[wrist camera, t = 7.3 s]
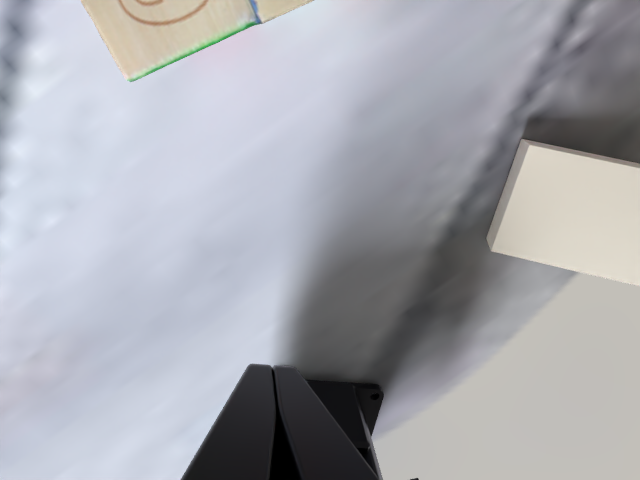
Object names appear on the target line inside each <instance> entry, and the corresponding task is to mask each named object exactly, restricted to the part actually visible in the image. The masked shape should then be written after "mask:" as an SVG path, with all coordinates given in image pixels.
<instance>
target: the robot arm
mask: <svg viewBox="0 0 640 480" xmlns="http://www.w3.org/2000/svg"><path fill="white" fill-rule="evenodd" d="M373 393H376V394H375V395H371V394H373ZM383 397H384V394H383V391H382V388H381V387H380V386H379V385H376V384H362V383H346V382H330V381H314V380H305V379H304V378H303V377H302V375H301V374H300V373H299V371H298V370H297V369H296V368H295V367H292V366H278V365H276V366H274V367H273V368H272V367H271V366H270V365H263V364H250V365H249V366H248V367H247V368H246V370H245V372H244V373H243V375H242V377H241V379H240V380H239V382H238V384H237V385H236V387H235V389H234V390H233V392H232V394H231V395H230V397H229V399H228V401H227V402H226V404H225V406H224V407H223V409H222V411H221V412H220V414H219V416H218V417H217V419H216V421H215V423H214V424H213V426H212V428H211V429H210V431H209V433H208V434H207V436H206V438H205V439H204V441H203V443H202V445H201V446H200V448H199V450H198V451H197V453H196V455H195V456H194V458H193V460H192V461H191V463H190V465H189V466H188V468H187V470H186V472H185V473H184V475H183V477H182V478H181V480H383V478H382V475H381V471H380V468H379V464H378V461H377V457H376V453H375V450H374V446H373V443H372V439H371V436H372V433H373V430H374V426H375V423H376V420H377V417H378V413H379V410H380V407H381V403H382V400H383ZM411 480H419V479H418V478H415V479H411Z"/></svg>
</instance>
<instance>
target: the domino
mask: <svg viewBox="0 0 640 480" xmlns="http://www.w3.org/2000/svg"><path fill="white" fill-rule="evenodd" d="M486 240H487V242H488V245H489V247H490V250H491V251H492V252H497V253H501V254H505V255H509V256H514V257H518V258H522V259H526V260H530V261H535V262H539V263H543V264H547V265H552V266H556V267H560V268H564V269H568V270H573V271H577V272H581V273H585V274H590V275H594V276H598V277H602V278H606V279H611V280H615V281H620V282H624V283H628V284H632V285H636V286H640V164H639V163H634V162H630V161H625V160H620V159H615V158H611V157H606V156H601V155H597V154H592V153H587V152H582V151H578V150H573V149H568V148H563V147H559V146H554V145H549V144H544V143H540V142H535V141H530V140H526V139H521V141H520V144H519V147H518V150H517V153H516V155H515V158H514V161H513V164H512V167H511V170H510V172H509V175H508V178H507V181H506V184H505V186H504V189H503V192H502V195H501V198H500V201H499V203H498V206H497V209H496V212H495V215H494V217H493V220H492V223H491V226H490V229H489V232H488V234H487V237H486Z"/></svg>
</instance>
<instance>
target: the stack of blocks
mask: <svg viewBox="0 0 640 480" xmlns="http://www.w3.org/2000/svg"><path fill="white" fill-rule="evenodd" d="M312 1H314V0H81V2H82V4H83V6H84V7H85V9H86V11H87V12H88V14H89V15H90V17H91V19H92V20H93V22H94V24H95V26H96V28H97V30H98V32H99V34H100V36H101V38H102V39H103V41H104V42H105V44H106V46H107V47H108V49H109V51H110V53H111V55H112V57H113V59H114V61H115V62H116V64H117V66H118V67H119V69H120V71H121V72H122V74H123V76H124V77H125V79H126V80H127V81H130V82H132V81H135V80H138V79H140V78H142V77H144V76H146V75H148V74H150V73H153V72H155V71H157V70H159V69H161V68H163V67H165V66H167V65H169V64H171V63H174V62H176V61H178V60H180V59H182V58H185V57H187V56H189V55H191V54H193V53H195V52H198V51H200V50H202V49H204V48H206V47H208V46H211V45H213V44H215V43H218V42H220V41H222V40H224V39H226V38H228V37H230V36H232V35H234V34H236V33H238V32H241V31H243V30H245V29H247V28H249V27H251V26H254V25H257V24H262V23H265V22H267V21H269V20H272V19H274V18H276V17H278V16H281V15H283V14H285V13H287V12H289V11H292V10H294V9H296V8H298V7H300V6H303V5H305V4H307V3H309V2H312Z"/></svg>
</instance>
